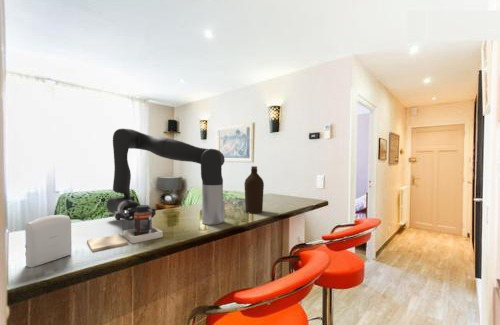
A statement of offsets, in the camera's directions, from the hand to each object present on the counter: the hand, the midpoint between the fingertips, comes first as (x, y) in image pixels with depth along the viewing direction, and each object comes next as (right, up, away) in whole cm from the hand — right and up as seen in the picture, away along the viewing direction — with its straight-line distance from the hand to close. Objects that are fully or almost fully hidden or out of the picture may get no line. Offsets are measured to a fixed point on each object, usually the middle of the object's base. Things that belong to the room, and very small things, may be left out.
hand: (141, 216), depth 90 cm
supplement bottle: (+1, -7, -2) cm, 8 cm away
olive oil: (+43, -7, +43) cm, 61 cm away
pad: (-7, -7, -9) cm, 14 cm away
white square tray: (+1, -7, -2) cm, 7 cm away
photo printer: (-15, -7, -23) cm, 28 cm away
